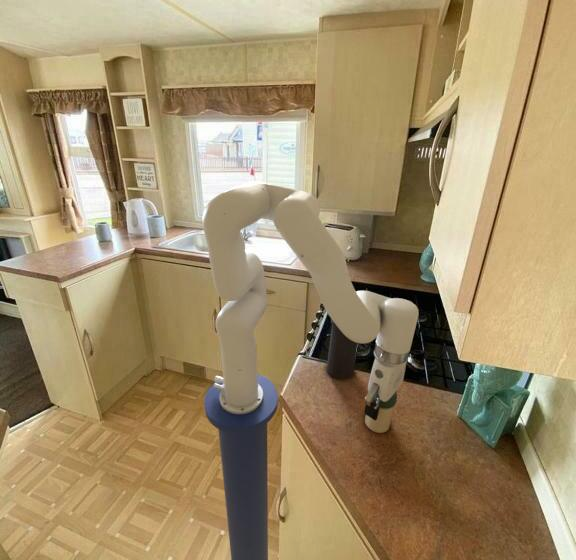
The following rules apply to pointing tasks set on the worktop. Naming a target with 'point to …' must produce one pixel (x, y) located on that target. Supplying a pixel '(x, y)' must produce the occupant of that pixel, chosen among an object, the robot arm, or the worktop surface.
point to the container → (341, 354)
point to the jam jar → (380, 420)
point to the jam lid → (387, 404)
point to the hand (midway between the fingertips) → (380, 405)
